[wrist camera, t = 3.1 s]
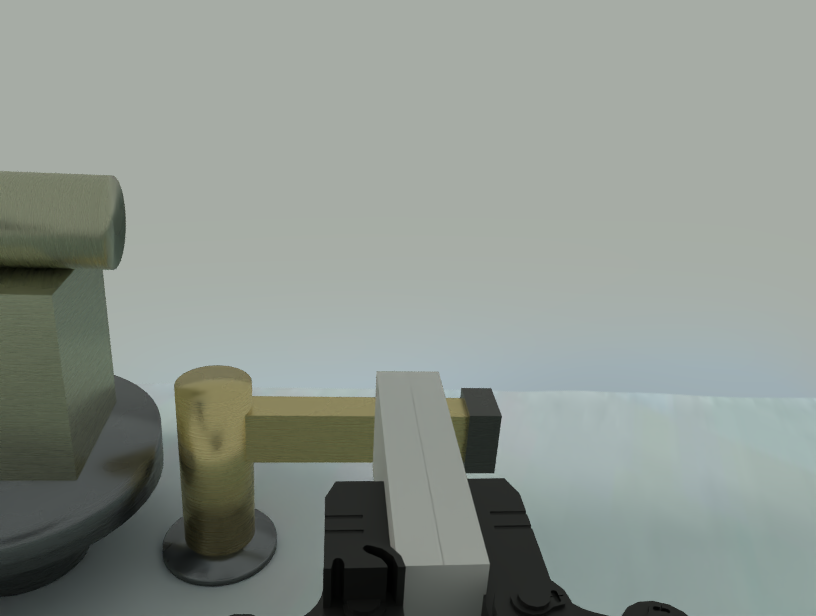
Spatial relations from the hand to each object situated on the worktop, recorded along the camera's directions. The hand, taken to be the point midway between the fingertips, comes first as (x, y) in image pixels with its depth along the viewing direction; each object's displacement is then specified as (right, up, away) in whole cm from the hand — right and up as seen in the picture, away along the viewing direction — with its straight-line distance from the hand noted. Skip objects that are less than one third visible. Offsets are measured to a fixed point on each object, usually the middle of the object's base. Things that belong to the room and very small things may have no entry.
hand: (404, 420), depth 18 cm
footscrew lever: (-3, -8, +17) cm, 19 cm away
